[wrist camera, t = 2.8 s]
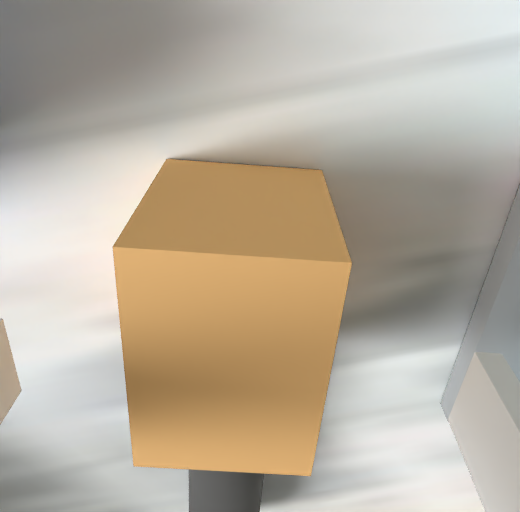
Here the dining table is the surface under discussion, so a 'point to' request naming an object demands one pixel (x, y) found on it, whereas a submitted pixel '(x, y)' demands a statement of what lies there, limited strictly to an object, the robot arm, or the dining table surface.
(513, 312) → the teal block plate
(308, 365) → the orange cube-head hammer
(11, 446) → the dining table surface
